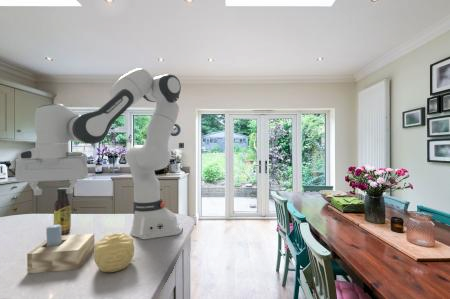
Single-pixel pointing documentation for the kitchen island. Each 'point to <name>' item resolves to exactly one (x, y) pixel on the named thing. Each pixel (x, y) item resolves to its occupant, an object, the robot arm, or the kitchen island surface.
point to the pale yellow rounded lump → (114, 252)
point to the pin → (54, 235)
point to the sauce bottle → (62, 211)
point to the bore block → (61, 254)
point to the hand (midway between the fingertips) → (54, 194)
